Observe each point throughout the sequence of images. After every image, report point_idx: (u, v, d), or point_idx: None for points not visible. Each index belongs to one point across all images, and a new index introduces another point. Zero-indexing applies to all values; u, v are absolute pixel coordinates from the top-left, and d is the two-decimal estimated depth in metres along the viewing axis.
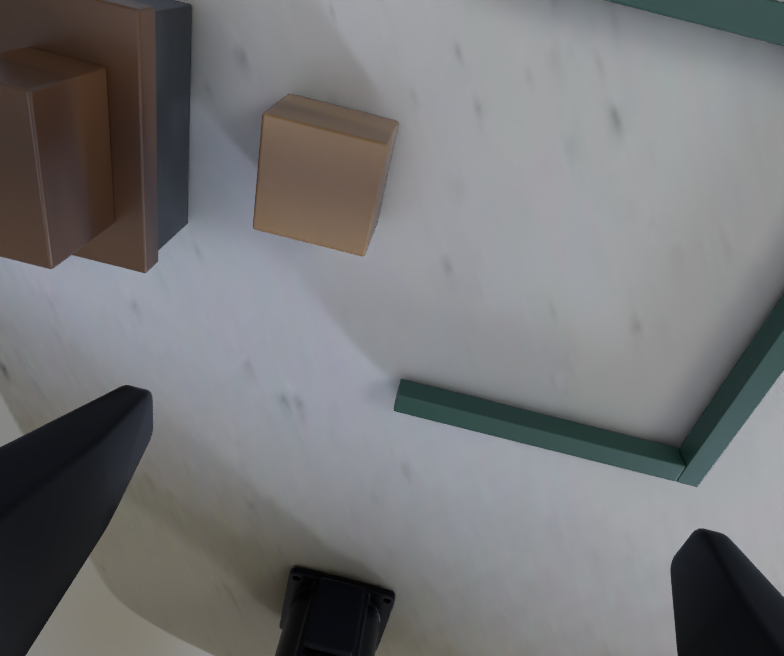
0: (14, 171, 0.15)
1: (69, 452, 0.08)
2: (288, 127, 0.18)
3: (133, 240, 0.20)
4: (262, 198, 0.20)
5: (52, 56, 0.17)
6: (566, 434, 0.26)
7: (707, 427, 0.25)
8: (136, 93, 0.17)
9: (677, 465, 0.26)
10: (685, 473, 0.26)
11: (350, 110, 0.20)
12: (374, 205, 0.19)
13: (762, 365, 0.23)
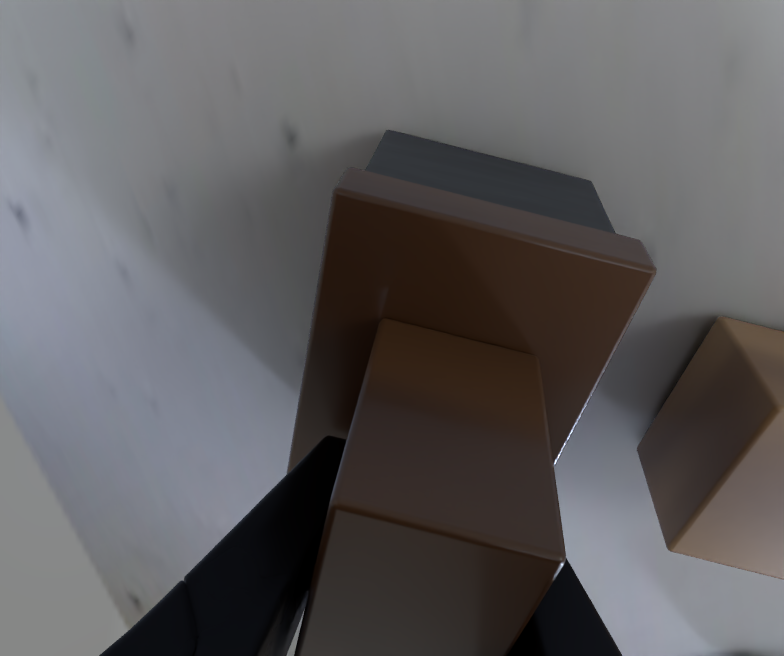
0: None
1: (315, 513, 0.08)
2: None
3: None
4: (710, 517, 0.11)
5: (449, 348, 0.08)
6: None
7: None
8: (582, 396, 0.09)
9: None
10: None
11: None
12: None
13: None
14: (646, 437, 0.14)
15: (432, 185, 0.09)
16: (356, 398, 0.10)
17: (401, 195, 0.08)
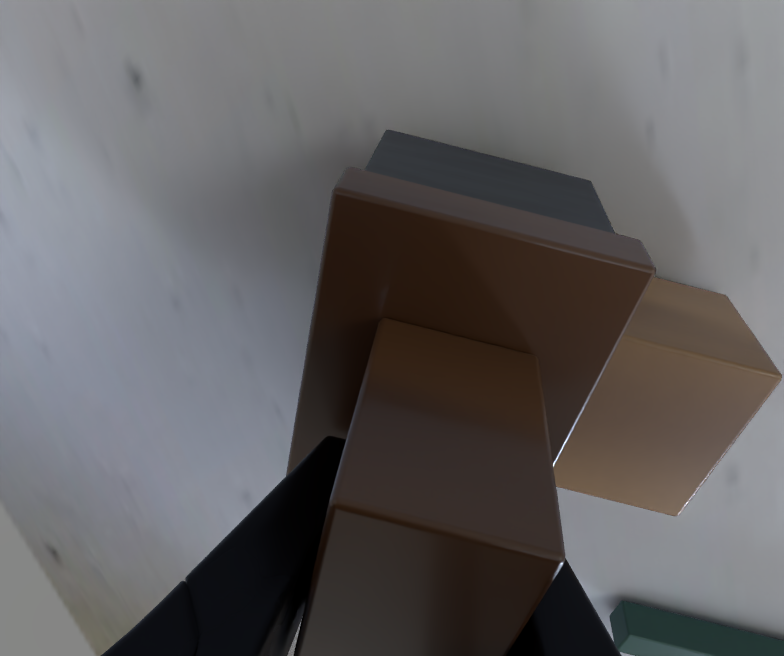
0: None
1: (316, 514, 0.08)
2: None
3: None
4: None
5: (448, 347, 0.08)
6: None
7: None
8: (581, 396, 0.09)
9: None
10: None
11: (655, 280, 0.13)
12: (723, 454, 0.12)
13: None
14: None
15: (432, 185, 0.09)
16: (356, 398, 0.10)
17: (401, 195, 0.08)
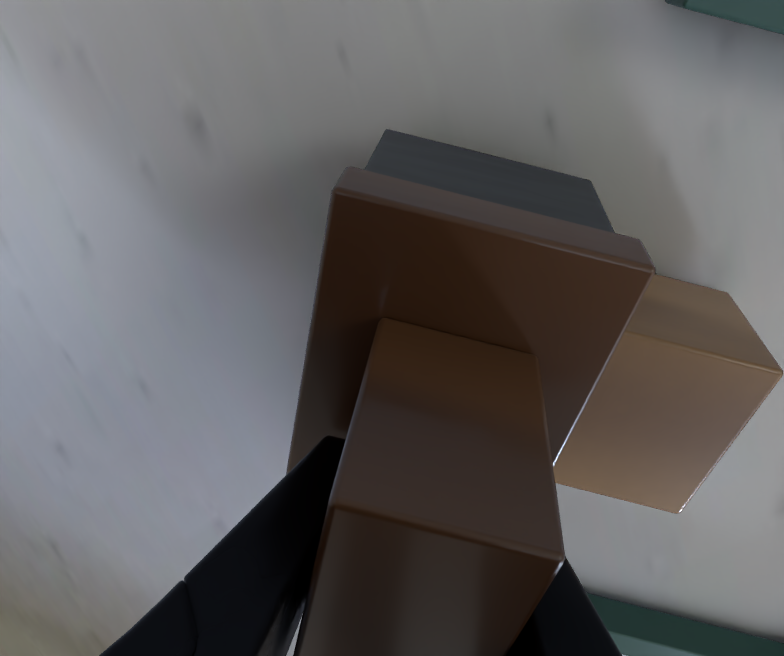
0: None
1: (315, 513, 0.08)
2: None
3: None
4: None
5: (448, 347, 0.08)
6: (668, 641, 0.18)
7: None
8: (581, 396, 0.09)
9: None
10: None
11: (657, 277, 0.13)
12: (724, 451, 0.12)
13: None
14: None
15: (431, 184, 0.09)
16: (355, 397, 0.10)
17: (400, 194, 0.08)
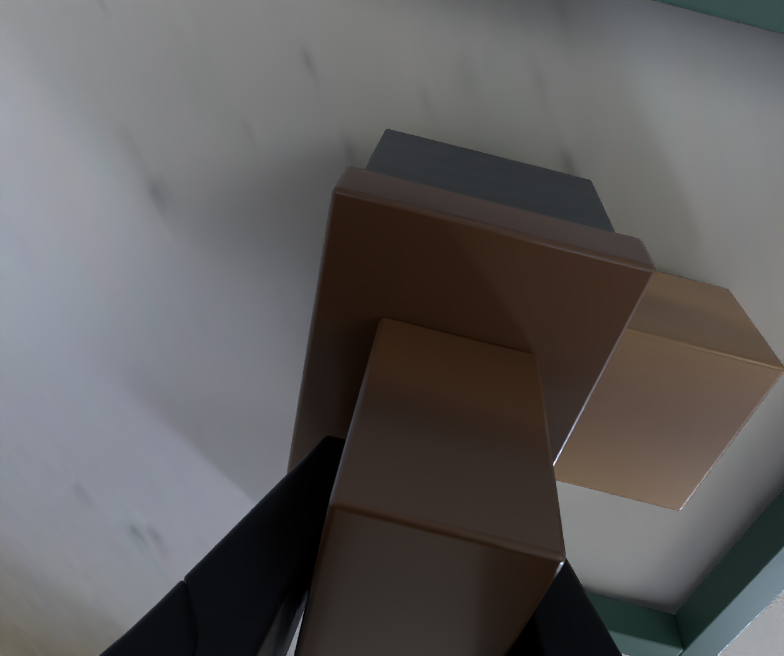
0: None
1: (315, 513, 0.08)
2: None
3: None
4: None
5: (449, 346, 0.08)
6: None
7: (714, 602, 0.17)
8: (582, 396, 0.09)
9: (671, 648, 0.18)
10: None
11: (657, 274, 0.13)
12: (725, 448, 0.12)
13: None
14: None
15: (432, 184, 0.09)
16: (356, 397, 0.10)
17: (401, 194, 0.08)
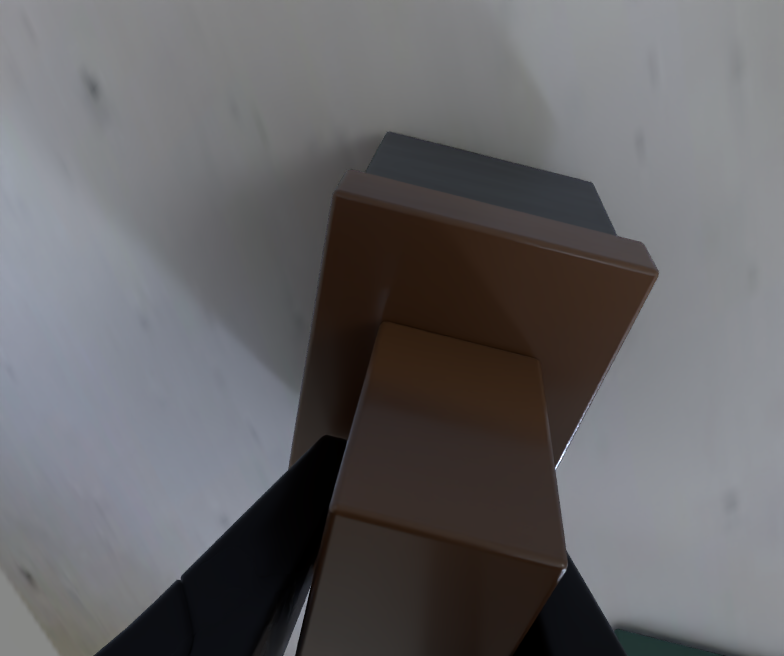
0: None
1: (312, 513, 0.08)
2: None
3: None
4: None
5: (450, 351, 0.08)
6: None
7: None
8: (583, 400, 0.09)
9: None
10: None
11: None
12: None
13: None
14: None
15: (433, 187, 0.09)
16: (356, 401, 0.09)
17: (401, 197, 0.08)
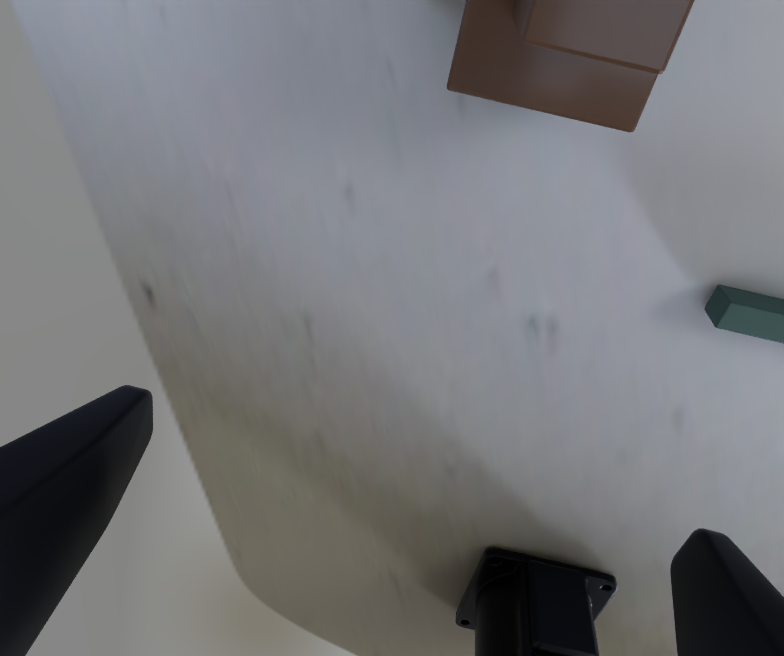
0: None
1: (69, 452, 0.08)
2: None
3: (639, 73, 0.13)
4: None
5: None
6: None
7: None
8: None
9: None
10: None
11: None
12: None
13: None
14: None
15: None
16: None
17: None
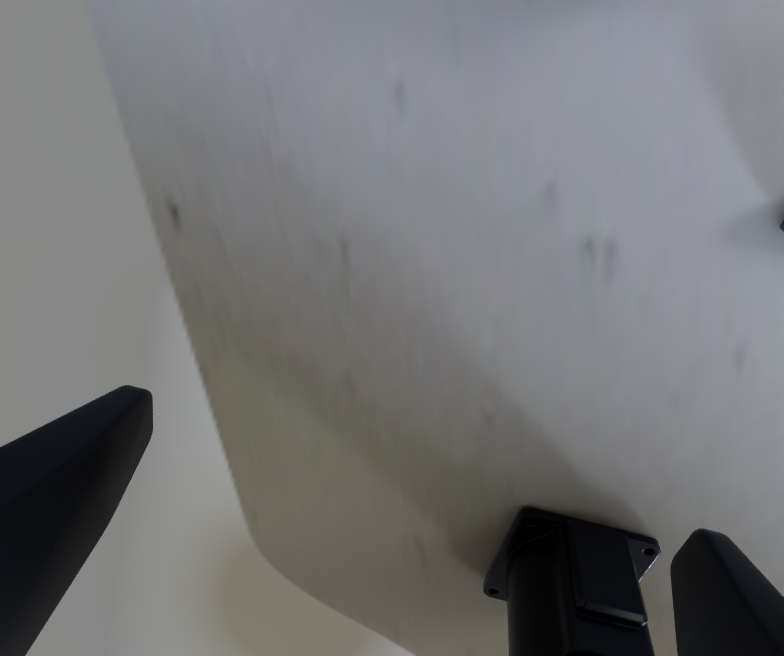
0: None
1: (69, 452, 0.08)
2: None
3: None
4: None
5: None
6: None
7: None
8: None
9: None
10: None
11: None
12: None
13: None
14: None
15: None
16: None
17: None
